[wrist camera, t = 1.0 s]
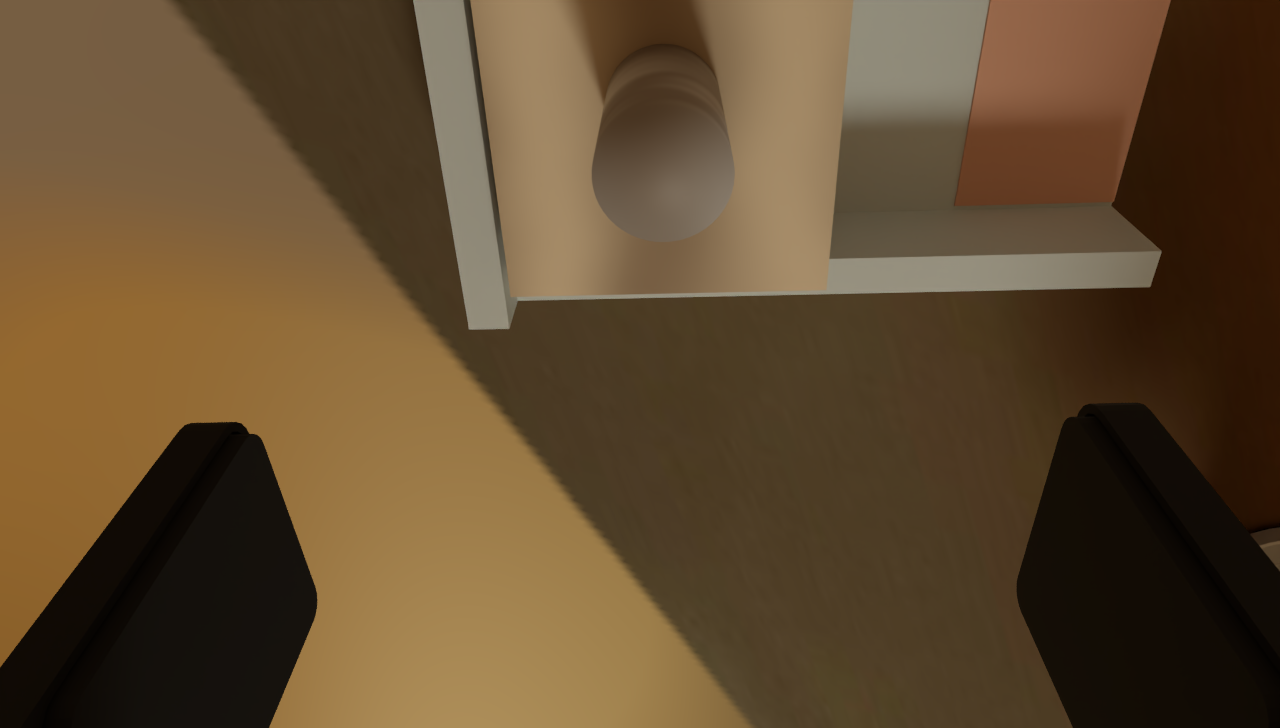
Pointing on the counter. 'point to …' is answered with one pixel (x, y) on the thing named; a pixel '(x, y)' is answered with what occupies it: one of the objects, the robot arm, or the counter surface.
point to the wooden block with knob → (664, 142)
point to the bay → (903, 149)
